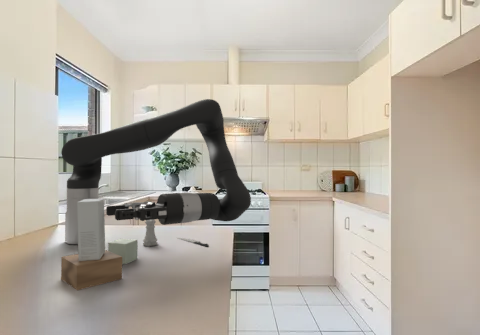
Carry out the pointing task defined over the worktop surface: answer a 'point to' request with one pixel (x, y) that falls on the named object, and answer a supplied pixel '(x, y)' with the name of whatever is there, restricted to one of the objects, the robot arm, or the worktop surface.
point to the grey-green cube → (124, 249)
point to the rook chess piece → (150, 234)
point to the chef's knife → (194, 242)
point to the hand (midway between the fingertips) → (110, 212)
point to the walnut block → (91, 270)
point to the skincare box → (91, 229)
